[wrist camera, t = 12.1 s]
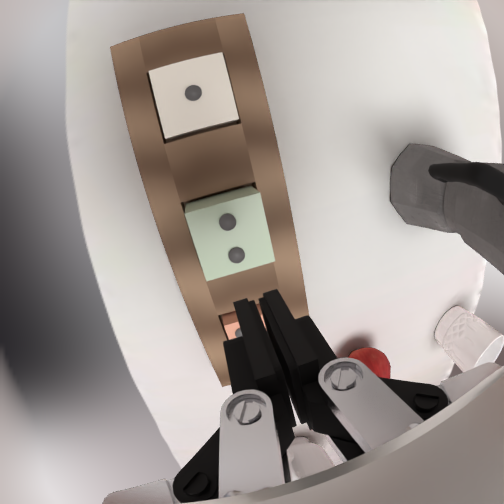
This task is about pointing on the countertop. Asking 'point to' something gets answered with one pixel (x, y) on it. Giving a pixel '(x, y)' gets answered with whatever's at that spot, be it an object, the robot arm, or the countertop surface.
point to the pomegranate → (373, 361)
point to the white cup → (468, 339)
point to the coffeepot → (452, 197)
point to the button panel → (210, 170)
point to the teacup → (307, 458)
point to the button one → (193, 95)
